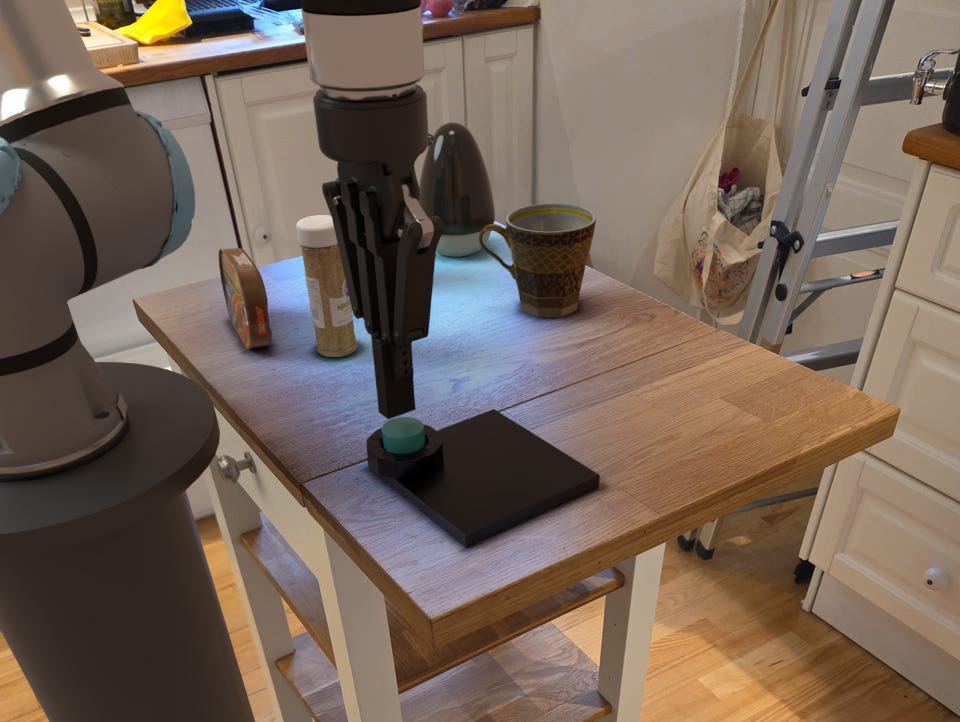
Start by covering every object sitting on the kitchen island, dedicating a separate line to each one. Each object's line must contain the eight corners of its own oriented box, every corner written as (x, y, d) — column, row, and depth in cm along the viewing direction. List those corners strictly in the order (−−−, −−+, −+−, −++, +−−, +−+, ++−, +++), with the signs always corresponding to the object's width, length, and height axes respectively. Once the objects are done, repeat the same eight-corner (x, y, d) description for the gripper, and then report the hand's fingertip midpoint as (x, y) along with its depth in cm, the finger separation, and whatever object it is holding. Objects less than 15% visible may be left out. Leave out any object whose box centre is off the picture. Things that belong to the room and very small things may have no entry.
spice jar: (358, 356, 95) (341, 226, 86) (316, 360, 95) (294, 229, 86) (357, 339, 98) (340, 211, 89) (316, 342, 98) (295, 214, 89)
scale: (356, 468, 78) (352, 438, 76) (489, 417, 84) (488, 388, 82) (458, 551, 69) (456, 519, 67) (599, 487, 75) (601, 456, 73)
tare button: (376, 443, 76) (373, 425, 75) (410, 430, 78) (409, 412, 77) (398, 460, 74) (396, 441, 73) (433, 446, 76) (432, 428, 74)
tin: (226, 312, 105) (209, 239, 99) (251, 307, 106) (236, 234, 100) (253, 362, 95) (236, 283, 89) (281, 356, 96) (266, 278, 90)
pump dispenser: (433, 235, 123) (425, 111, 113) (504, 240, 121) (503, 114, 111) (407, 260, 116) (396, 131, 106) (482, 266, 114) (478, 134, 103)
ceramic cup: (588, 290, 107) (592, 201, 100) (594, 323, 100) (599, 231, 93) (481, 292, 107) (479, 204, 101) (480, 326, 100) (477, 234, 93)
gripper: (473, 94, 56) (478, 428, 72) (367, 63, 63) (393, 370, 79) (371, 113, 52) (400, 458, 68) (273, 77, 60) (320, 394, 76)
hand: (397, 410), depth 74 cm, fingers closed
